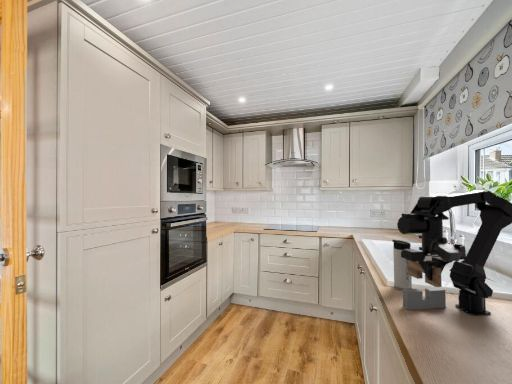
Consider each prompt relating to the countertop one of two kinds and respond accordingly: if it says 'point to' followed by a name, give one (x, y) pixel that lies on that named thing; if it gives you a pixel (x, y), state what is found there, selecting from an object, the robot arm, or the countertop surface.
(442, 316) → the countertop surface
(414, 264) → the cross plate
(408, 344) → the countertop surface
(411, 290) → the base plate
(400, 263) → the travel mug
